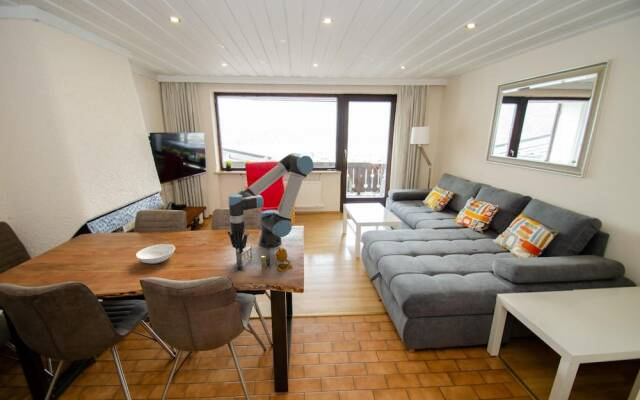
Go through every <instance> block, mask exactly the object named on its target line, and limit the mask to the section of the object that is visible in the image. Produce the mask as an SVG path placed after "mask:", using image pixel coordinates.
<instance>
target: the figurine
mask: <svg viewBox="0 0 640 400" xmlns="http://www.w3.org/2000/svg"><path fill="white" fill-rule="evenodd" d="M275 251H276V253H275V255H273V256H272V258H276V261H277V262H278V264H277V265H276V271H277V272H286V271H289V270H292V269H293V265H292V264H290V263H291V260H289V259H288V252H287V250H286V249H285V248H283V247H279V246H278V247H277V248H274V249H273V252H275ZM285 262H287V263H285Z"/></svg>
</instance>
